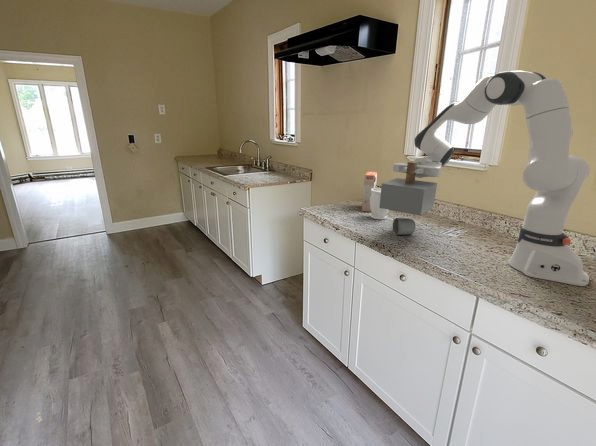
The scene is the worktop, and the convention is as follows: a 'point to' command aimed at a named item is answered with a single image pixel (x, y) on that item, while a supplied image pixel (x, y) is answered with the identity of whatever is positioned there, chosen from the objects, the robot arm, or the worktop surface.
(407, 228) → the ceramic mug
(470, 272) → the worktop surface
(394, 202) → the lid
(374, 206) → the jar
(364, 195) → the cracker box
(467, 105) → the robot arm
